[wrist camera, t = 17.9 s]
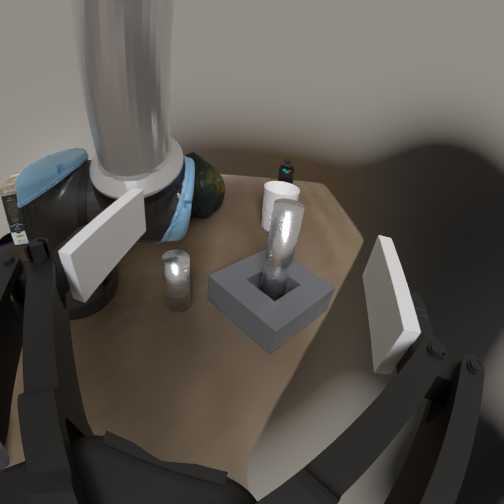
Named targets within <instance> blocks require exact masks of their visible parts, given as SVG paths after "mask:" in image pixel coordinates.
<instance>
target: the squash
mask: <svg viewBox="0 0 504 504" xmlns="http://www.w3.org/2000/svg"><path fill="white" fill-rule="evenodd" d="M186 157H188V158H191V159H193V161H194V163H195V179H194V192H193V198H192V203H191V216H193V215H196V216H197V217H199V218H207V217H209V216H210V215H211V213H212V212H214V211H216V210H217V209H218V208H219V207H220V206H221V204H222V201H223V199H224V194H225V186H224V181H223V178H222V176H221V175H220V173H219V172H218V171H217V170H216V169H215V168H214V167H213V166H212V165H210V164H209V163H208V162H206V161H205V160H204V159H203V158H202V157H200V156H199V155H197V154H195V153H194V152H192V153H189V154H187V155H186Z"/></svg>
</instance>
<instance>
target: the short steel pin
mask: <svg viewBox="0 0 504 504" xmlns="http://www.w3.org/2000/svg"><path fill="white" fill-rule="evenodd" d="M162 269H163V280H164V290H165V300H166V306H167V308H168V309H169V310H171V311H173V312H183V311H186V310H187V309H188V308H189V307H190V305H191V296H190V256H189V254H188V253H187V252H185V251H183V250H178V249H175V250H169V251H167V252H165V253H164V254H163V255H162Z"/></svg>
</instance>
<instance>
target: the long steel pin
mask: <svg viewBox="0 0 504 504" xmlns="http://www.w3.org/2000/svg"><path fill="white" fill-rule="evenodd" d="M304 209H305V207H304V205H303V204H302V203H300V202H298V201H296V200H292V199H286V198H282V199H277V200H275V201H274V206H273V212H272V218H271V224H270V230H269V236H268V242H267V248H266V254H265V260H264V266H263V271H262V277H261V283H260V289H259V290H261V291H262V292H263V293H264V294H266V295H267V296H268V297H270V298H271V299H272V300H274V301H276V300H278V299H279V298H281V297H282V296H284V295H285V291H286V286H287V282H288V278H289V274H290V270H291V266H292V262H293V257H294V253H295V249H296V245H297V240H298V236H299V231H300V227H301V223H302V218H303V214H304Z"/></svg>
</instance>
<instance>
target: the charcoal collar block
mask: <svg viewBox="0 0 504 504" xmlns="http://www.w3.org/2000/svg"><path fill="white" fill-rule="evenodd" d="M265 254H266V249H265V250H263V251H260V252H258V253H256V254H254V255H252V256H250V257H247V258H245V259H243V260H241V261H239V262H237V263H234V264H232V265H230V266H228V267H226V268H224V269H221V270H219V271H217V272H215V273H213V274H210V275H209V285H208V299H209V300H210V301H211V302H212V303H213V304H214V305H215V306H216V307H217V308H218V309H219V310H221V311H222V312H223V313H224V314H225V315H226V316H227V317H228V318H229V319H230V320H232V321H233V322H234V323H235V324H236V325H237V326H238V327H239V328H241V329H242V330H243V331H244V332H245V333H246V334H247V335H248V336H250V337H251V338H252V339H253V340H254V341H255V342H256V343H258V344H259V345H260V346H261V347H262V348H263V349H265V350H266V351H267V352H268V353H269V354H271V353H272V352H274V351H275V350H276V349H278V348H279V347H280V346H282V345H283V344H284V343H286V342H287V341H288V340H290V339H291V338H292V337H293V336H295V335H296V334H297V333H299V332H300V331H301V330H302V329H304V328H305V327H306V326H307V325H309V324H310V323H311V322H312V321H314V320H315V319H316V318H317V317H319V316H320V315H321V314H322V313H324V312H325V311H326V310H327V308H328V306H329V303H330V300H331V298H332V295H333V293H334V290H335V287H334V286H332V285H331V284H329V283H328V282H326V281H325V280H323V279H322V278H320V277H318V276H317V275H315V274H314V273H312V272H311V271H309V270H308V269H306V268H305V267H303V266H302V265H300V264H299V263H297V262H296V261H294V260H293V262H292V266H291V270H290V274H289V278H288V282H287V286H286V291H285V295H284V296H282V297H281V298H279V299H278V300H276V301H274V300H272V299H271V298H270V297H268V296H267V295H266V294H264V293H263V292H262V291H261V290H259V289H260V283H261V277H262V271H263V266H264V260H265Z"/></svg>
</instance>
